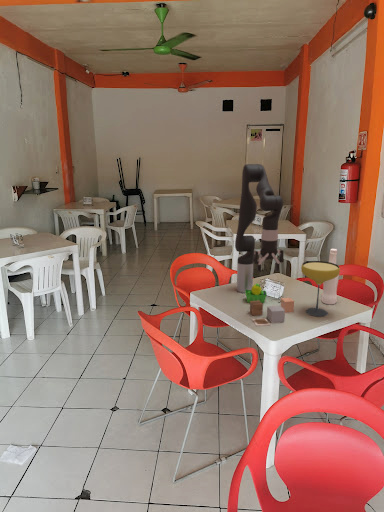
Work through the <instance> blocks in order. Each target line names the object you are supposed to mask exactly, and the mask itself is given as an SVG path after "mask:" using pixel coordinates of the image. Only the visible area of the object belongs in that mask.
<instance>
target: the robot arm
mask: <svg viewBox="0 0 384 512" xmlns="http://www.w3.org/2000/svg"><path fill="white" fill-rule="evenodd" d="M241 174H242V176H241V194H240V195H241V196H240V203H239V211H238V223H237V229H236V235H235V236H236V237H235V243H234V244H235V245H234V247H235V250H236V252H241V253H243V252H245V254H243V255H239V256H238V257H237V260H236V261H237V264H236V265H237V267H236V270H237V271H236V273H237V274H236V291H237V292H238V293H240V294H241V293H242V294H246V292H245V290H252V287H253V286H254V283H253V282H254V281H253V280H254V264H255V265H256V271H257V272H258V273H261V271H262V263H263V262H265V260H266V261H268V260H271V261H272V260H273V261H274V262H275V263H274V270H275V272H278V271H279V270H280V264H281V263H283V262H284V250H283V249H281V248H279V249H278V243H279V242H278V239H279V230H278V229H279V228H278V227H279V220H280V216H281V213H282V210H283V207H284V198H283V197H282V196H281V195H275V191H274V190H273V188H272V186H271V184H270V183H269V179H268V175H267V172H266V168H265V167H264V165H263V164H261V163H260V164H259V163H253V164H252V163H251V164H249V163H245V164H244V165H243V167H242V173H241ZM250 183H257V185H256V190H255V191H256V194H257V195H258V197H259V207H260V210H262V211H264V212H272V213H271V214H269V215H265V216H264V217H262V228H261V229H262V230H261V238H260V239H261V240H260V241H261V242H260V250H257V249H255V247H256V240H255V239H256V238H255V237H254V236H253V235H245V232H246V230H248V227H249V226H251V224H252V223H253V222H254V221H255V218H256V215H257V209H258V204H257V202H256V200H255V197H254V196H253V195H252V192H251V190H250ZM277 255H278V257H277ZM259 256H260V257H259ZM258 257H259V258H258Z"/></svg>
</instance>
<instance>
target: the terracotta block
mask: <svg viewBox="0 0 384 512" xmlns="http://www.w3.org/2000/svg"><path fill="white" fill-rule="evenodd" d="M280 306H281V307H282V308H283V309H284V310H285V314H287V313H294V310H295V309H294V308H295V301H294V300H293V299H292V298H291V297H283V298H282V297H281V298H280Z"/></svg>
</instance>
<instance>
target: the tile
mask: <svg viewBox="0 0 384 512" xmlns="http://www.w3.org/2000/svg"><path fill="white" fill-rule="evenodd" d="M251 321H252V322H253V323H254V326H256V327H261V326H263V327H264V326H271V325H272V323H271V322H270V321H269V319H268V318H267V317H266V318H265V317H264V318H253V319H251Z"/></svg>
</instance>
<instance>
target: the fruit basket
mask: <svg viewBox="0 0 384 512" xmlns="http://www.w3.org/2000/svg"><path fill="white" fill-rule="evenodd" d="M245 292H246V293H245V297H246V301H247V303H250V301H260V302H261V303H262V304H264V303H265V301H266V298H267V295H268V294H267V290H263V289H262V286H261V285H260V283H255V284H253V286H252V290H245Z"/></svg>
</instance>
